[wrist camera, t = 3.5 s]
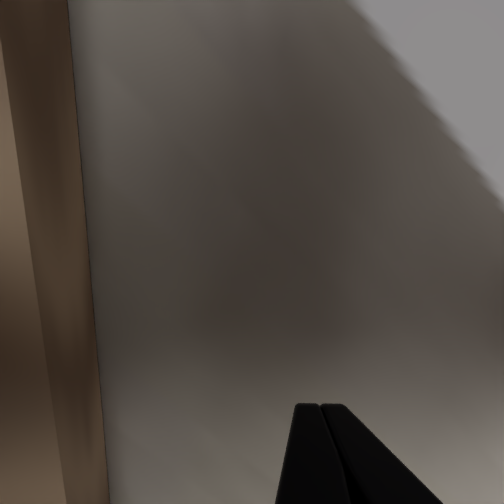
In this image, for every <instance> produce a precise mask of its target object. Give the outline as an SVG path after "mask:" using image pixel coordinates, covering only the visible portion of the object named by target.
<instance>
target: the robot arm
mask: <svg viewBox="0 0 504 504" xmlns="http://www.w3.org/2000/svg"><path fill="white" fill-rule="evenodd" d="M275 504H443V503H442V502H441V501H440V500H439V499H438V498H437V497H436V496H435V495H434V494H433V493H432V492H431V491H430V490H429V489H428V488H427V487H426V486H425V485H424V484H423V483H422V482H421V481H420V480H419V479H418V478H417V477H416V476H415V475H414V474H413V473H412V472H411V471H410V470H409V469H408V468H407V467H406V466H405V465H404V464H403V463H402V462H401V461H400V460H399V459H398V458H397V457H396V456H395V455H394V454H393V453H392V452H391V451H390V450H389V449H388V448H387V447H386V446H385V445H384V444H383V443H382V442H381V441H380V440H379V439H378V438H377V437H376V436H375V435H374V434H373V433H372V432H371V431H370V430H369V429H368V428H367V427H366V426H365V425H364V424H363V423H362V422H361V421H360V420H359V419H358V418H357V417H356V416H355V415H354V414H353V413H352V412H351V411H350V410H349V409H348V408H347V407H346V406H345V405H343V404H330V403H324V404H321V405H320V406H319V405H318V404H316V403H298V404H296V405H295V408H294V413H293V418H292V423H291V428H290V433H289V437H288V442H287V447H286V452H285V457H284V462H283V467H282V472H281V476H280V481H279V486H278V491H277V496H276V501H275Z"/></svg>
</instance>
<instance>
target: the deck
mask: <svg viewBox="0 0 504 504" xmlns="http://www.w3.org/2000/svg"><path fill="white" fill-rule="evenodd" d="M0 504H110V499H109V487H108V475H107V464H106V452H105V440H104V429H103V417H102V405H101V393H100V382H99V370H98V358H97V347H96V335H95V323H94V312H93V300H92V288H91V276H90V265H89V253H88V241H87V230H86V218H85V206H84V194H83V183H82V171H81V159H80V148H79V136H78V124H77V112H76V101H75V89H74V77H73V66H72V54H71V42H70V30H69V19H68V7H67V0H0Z"/></svg>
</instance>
